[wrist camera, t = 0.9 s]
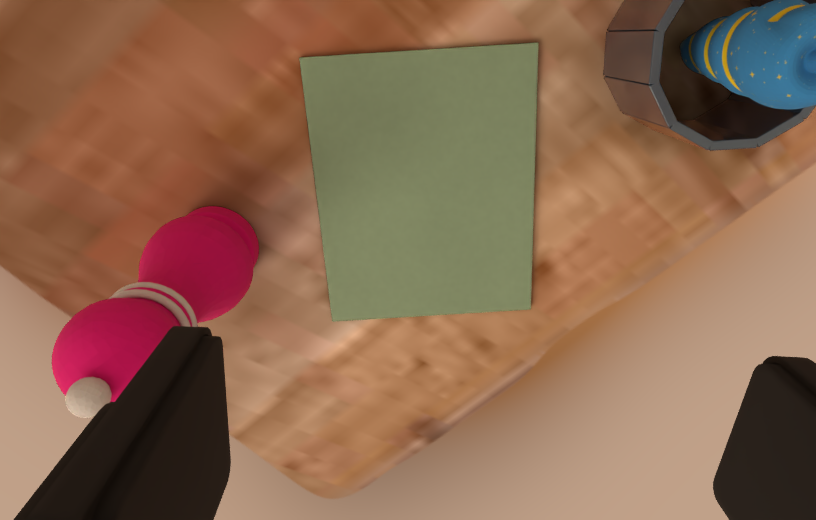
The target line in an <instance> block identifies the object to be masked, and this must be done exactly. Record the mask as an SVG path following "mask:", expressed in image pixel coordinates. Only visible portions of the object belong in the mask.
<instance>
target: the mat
mask: <svg viewBox="0 0 816 520" xmlns="http://www.w3.org/2000/svg"><path fill="white" fill-rule="evenodd" d="M299 59H300V67H301V75H302V83H303V91H304V99H305V107H306V115H307V123H308V131H309V139H310V147H311V155H312V163H313V171H314V179H315V187H316V195H317V203H318V211H319V219H320V227H321V235H322V243H323V251H324V259H325V267H326V275H327V283H328V291H329V299H330V307H331V315H332V321H349V320H366V319H382V318H398V317H415V316H431V315H447V314H464V313H480V312H496V311H513V310H529V309H531V286H532V252H533V217H534V182H535V147H536V112H537V77H538V42H536V43H520V44H504V45H488V46H472V47H457V48H441V49H425V50H409V51H393V52H378V53H362V54H346V55H330V56H314V57H300V58H299Z"/></svg>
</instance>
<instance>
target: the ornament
mask: <svg viewBox="0 0 816 520" xmlns="http://www.w3.org/2000/svg"><path fill="white" fill-rule="evenodd" d="M680 50H681V57H682V60H683V61H684V63H685V65H686V66H687V67H688V68H689V69H691V70H692V71H694V72H696V73H698V74H702V75H705V76H706V77H707V78H709V79H710V80H712V81H714V82H717V83H720V84H722V85H723V86H725V87H726V88H727V89H728V90H730V91H732V92H734V93H736V94H738V95H742V96H746V97H749V98H750V99H752V100H753V101H755V102H757V103H759V104H762V105H765V106H767V107H771V108H776V109H800V108H805V107H810V106H813V105H816V3H813V4H809V3H807V2H805V1H802V0H774V1H771V2H768V3H766V4H764V5H762V6H760V7H758V6H757V7H748V8H744V9H741V10H739V11H737V12H735V13H734V14H732V15H731V16H724V17H720V18H717V19H715V20H712V21H711V22H709V23H708V24H706V25H705V26H703V27H702V28H701V29H699V30H698V31H697V32H695V33H693V34H692V35H690V36H689V37H687V38H686V39H685V40H684V41H682V43H681V44H680Z"/></svg>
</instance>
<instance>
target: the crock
mask: <svg viewBox="0 0 816 520" xmlns="http://www.w3.org/2000/svg"><path fill="white" fill-rule="evenodd" d="M684 1H685V0H624V2H623V3H622V5H621V7H620V8H619V10H618V12H617V14H616V15H615V17H614V19H613V20H612V22H611V24H610V25H609V27H608V29H607V31H608V32H606V45H605V59H604V73H603V75H604V79H605V81H606V83H607V85H608V87H609V89H610V91H611V93H612V95H613V97H614V99H615V101H616V103H617V105H618V107H619V109H620V111H621V112H622V113H623V114H625V115H627V116H629V117H630V118H632V119H634V120H636V121H638V122H639V123H641V124H643V125H645V126H647V127H648V128H650V129H652V130H654V131H657V132H659V133H662V134H665V135H667V136H670V137H673V138H676V139H678V140H681V141H684V142H686V143H689V144H692V145H694V146H697V147H700V148H703V149H705V150H709V151H714V150H730V149H746V148H756V147H760V146H761V145H763V144H765V143H767V142H768V141H770V140H772V139H774V138H775V137H777V136H779V135H780V134H782V133H784V132H786V131H787V130H789V129H791V128H792V127H794V126H796V125H798V124H799V123H801V122H803V121H804V119H806V118H807V117H808V116H809V114H810V113H811V112H812V110H813V109H814V108H815V106H816V105H813V106H810V107H805V108H800V109H776V108H771V107H767V106H765V105H762V104H759V103H757V102H755V101H753V100H752V99H750V98H749V97H746V96H742V95H738V94H736V93H734V92H732V94H731V95H730V97H729V98H728V100H726V101H724V102H723V103H721V104H719V105H718V106H716V107H714V108H713V109H711V110H709V111H708V112H706V113H704V114H703V115H701V116H699V117H698V118H696V119H694V120H685V121H677V119H676V117H675V115H674V113H673V110H672V108H671V106H670V104H669V102H668V100H667V97H666V95H665V93H664V91H663V89H662V86H661V84H660V82H659V80H660V71H661V62H662V53H663V44H664V34H665V31H666V30H667V28H668V27H669V25H670V23H671V22H672V20H673V19H674V17H675V15H676V14H677V12H678V11H679V9H680V7H681V6H682V4H683V2H684ZM771 1H774V0H750V2H751V5H752V7H757V6H758V7H760V6H762V5H764V4H766V3H768V2H771ZM802 1H805V2H807V3H809V4H813V3H816V0H802Z"/></svg>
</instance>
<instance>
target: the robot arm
mask: <svg viewBox="0 0 816 520" xmlns="http://www.w3.org/2000/svg"><path fill="white" fill-rule="evenodd" d="M230 463H231V461H230V444H229V430H228V416H227V401H226V387H225V373H224V358H223V345H222V340H221V338H220V337H217V336H212V334H211V331H210V329H209V328H208V327H188V326H173V327H172V328H171V329H170V330H169V331H168V332H167V334H166V335H165V336H164V338H163V339H162V340H161V342H160V343H159V344H158V345H157V347H156V348H155V349H154V351H153V352H152V353H151V355H150V356H149V357H148V359H147V360H146V361H145V363H144V364H143V365H142V367H141V368H140V369H139V371H138V372H137V373H136V374H135V376H134V377H133V378H132V380H131V381H130V382H129V384H128V385H127V386H126V388H125V389H124V390H123V392H122V393H121V394H120V396H119V397H118V398H117V400H116V401H115V402H110V403H107V404H105V405H104V406H103V407H102V408H101V409H100V410H99V411H98V412H97V414H96V415H95V416H94V418H93V419H92V420H91V422H90V423H89V424H88V425H87V427H86V428H85V429H84V430H83V432H82V433H81V434H80V435H79V437H78V438H77V439H76V441H75V442H74V443H73V444H72V446H71V447H70V448H69V449H68V451H67V452H66V454H65V455H64V456H63V457H62V458H61V460H60V461H59V462H58V464H57V465H56V466H55V467H54V469H53V470H52V471H51V472H50V474H49V475H48V476H47V478H46V479H45V480H44V481H43V483H42V484H41V485H40V487H39V488H38V489H37V490H36V492H35V493H34V494H33V495H32V497H31V498H30V499H29V501H28V502H27V503H26V504H25V506H24V507H23V508H22V510H21V511H20V512H19V513H18V515H17V516H16V517H15V518H14V520H213V519H214V517H215V514H216V511H217V509H218V506H219V503H220V501H221V498H222V495H223V493H224V490H225V487H226V485H227V482H228V478H229V473H230ZM713 490H714V495H715V498H716V500H717V502H718V503H719V505H720V507H721V508H722V509H723V511H724V512H725V514H726V515H727V517H728V518H729V520H816V363H814V362H813V361H811V360H810V359H808V358H800V357H781V356H772V357H769V358H767V359H766V360H765V361H764V362H763V364H760V365H758V366H757V367H756V368H755V370H754V371H753V374H752V377H751V379H750V382H749V385H748V388H747V390H746V393H745V396H744V399H743V401H742V404H741V407H740V410H739V412H738V415H737V418H736V420H735V423H734V426H733V429H732V432H731V434H730V437H729V439H728V442H727V445H726V448H725V451H724V453H723V456H722V459H721V461H720V464H719V467H718V470H717V472H716V475H715V478H714V482H713Z"/></svg>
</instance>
